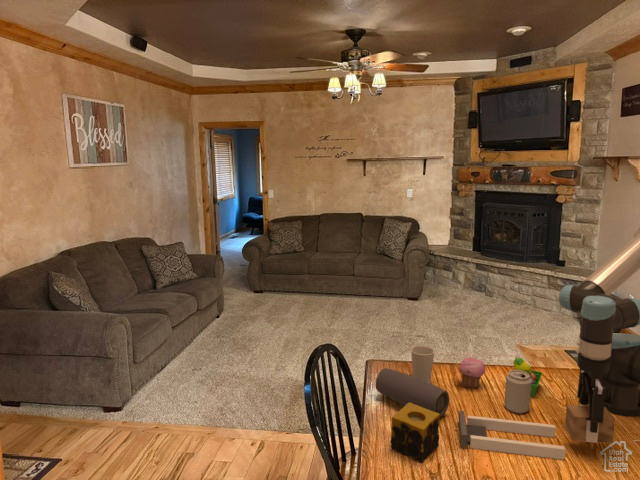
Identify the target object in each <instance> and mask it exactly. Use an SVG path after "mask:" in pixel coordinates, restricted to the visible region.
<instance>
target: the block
mask: <svg viewBox="0 0 640 480" xmlns="http://www.w3.org/2000/svg"><path fill="white" fill-rule="evenodd" d="M586 417H587V418H589V406H579V405H572V404H571V405H570V404H567V405H566V410H565V420H564V421H565V423H564V424H565V425H564V429H565V430H566V432H567V434H568V436H569V437H570V438H571V441H572V442H573V441H574V442H586V441H585V437H586V425H587V420H586ZM615 423H616V418H615V417H614V416H613V414H612V413H611V412H609V411H608V410H607V408H606V407H604V414H603V423H599V429H598V440H597V443H607V444H614V435H615V425H616V424H615Z"/></svg>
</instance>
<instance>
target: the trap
mask: <svg viewBox="0 0 640 480" xmlns="http://www.w3.org/2000/svg"><path fill="white" fill-rule="evenodd" d="M458 430H459V431H458V432H459V441H460V442H459V443H460V448H461V449H467V447H468V445H469V446H470V435H474V436H482V437H488V434H487V429H486V427H481V426H472V425H467V422H466V415H465V410H458Z"/></svg>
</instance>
